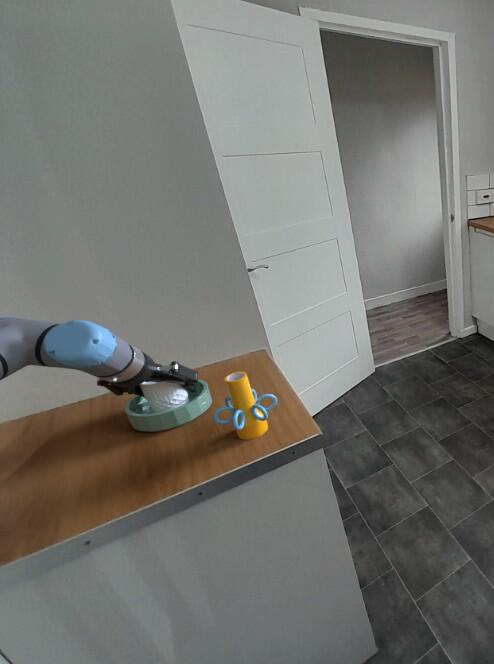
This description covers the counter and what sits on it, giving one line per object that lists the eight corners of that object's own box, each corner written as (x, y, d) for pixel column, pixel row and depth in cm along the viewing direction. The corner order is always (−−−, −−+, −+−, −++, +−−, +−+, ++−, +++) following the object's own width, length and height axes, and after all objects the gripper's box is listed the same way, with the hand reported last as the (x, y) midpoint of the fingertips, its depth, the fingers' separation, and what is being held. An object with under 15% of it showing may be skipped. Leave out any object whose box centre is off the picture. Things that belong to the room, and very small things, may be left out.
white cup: (147, 412, 98) (132, 377, 94) (185, 397, 104) (173, 363, 100) (159, 424, 94) (144, 388, 90) (199, 408, 100) (186, 373, 96)
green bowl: (117, 439, 90) (109, 421, 88) (151, 400, 104) (144, 383, 102) (199, 427, 95) (193, 409, 93) (221, 390, 108) (216, 374, 106)
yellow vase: (212, 439, 91) (190, 383, 84) (253, 412, 100) (236, 359, 93) (253, 454, 87) (233, 396, 81) (292, 424, 96) (277, 370, 90)
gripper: (51, 394, 75) (119, 415, 95) (186, 372, 83) (223, 396, 103) (54, 356, 78) (120, 384, 98) (185, 338, 85) (221, 368, 105)
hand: (173, 390), depth 100 cm, fingers closed on white cup, 8 cm apart
